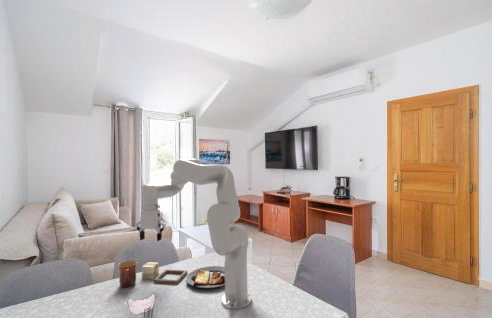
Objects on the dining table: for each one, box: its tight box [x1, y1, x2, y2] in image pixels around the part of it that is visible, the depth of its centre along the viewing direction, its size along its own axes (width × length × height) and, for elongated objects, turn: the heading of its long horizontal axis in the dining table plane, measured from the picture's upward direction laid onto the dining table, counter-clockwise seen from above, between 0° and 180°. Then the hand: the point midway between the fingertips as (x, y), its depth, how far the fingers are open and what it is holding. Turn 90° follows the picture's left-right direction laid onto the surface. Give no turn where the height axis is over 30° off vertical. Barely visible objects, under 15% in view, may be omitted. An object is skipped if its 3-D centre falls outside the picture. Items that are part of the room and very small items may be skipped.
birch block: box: [141, 261, 160, 280], centre depth 135 cm, size 6×6×6 cm
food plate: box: [185, 265, 225, 289], centre depth 129 cm, size 25×23×4 cm
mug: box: [117, 259, 138, 288], centre depth 124 cm, size 12×9×10 cm
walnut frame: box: [153, 268, 188, 285], centre depth 132 cm, size 12×12×2 cm
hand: (150, 239), depth 135 cm, fingers open, 9 cm apart
